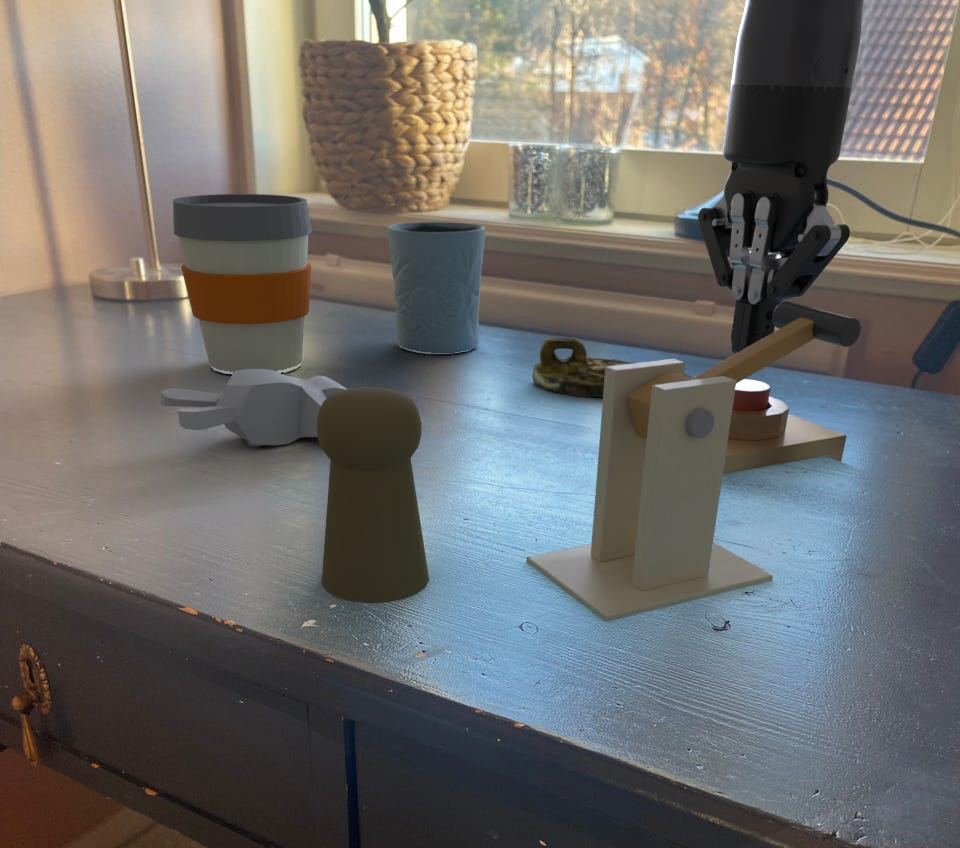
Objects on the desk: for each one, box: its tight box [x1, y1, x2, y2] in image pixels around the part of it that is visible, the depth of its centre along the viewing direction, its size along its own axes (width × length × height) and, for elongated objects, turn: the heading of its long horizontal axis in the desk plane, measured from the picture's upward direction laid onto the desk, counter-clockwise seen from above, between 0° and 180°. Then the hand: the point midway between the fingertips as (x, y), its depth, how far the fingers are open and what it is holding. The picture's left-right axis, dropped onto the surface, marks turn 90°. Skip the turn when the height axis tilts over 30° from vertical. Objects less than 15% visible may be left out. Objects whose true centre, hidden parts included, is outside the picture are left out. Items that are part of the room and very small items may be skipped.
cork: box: [317, 386, 430, 604], centre depth 50 cm, size 6×6×11 cm
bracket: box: [525, 358, 774, 623], centre depth 51 cm, size 11×8×12 cm
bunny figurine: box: [160, 369, 348, 448], centre depth 75 cm, size 10×5×15 cm
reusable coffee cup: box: [172, 193, 313, 372], centre depth 93 cm, size 13×12×15 cm
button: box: [732, 378, 772, 412], centre depth 72 cm, size 4×4×2 cm
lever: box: [627, 300, 862, 440], centre depth 50 cm, size 12×5×2 cm, turn 118°
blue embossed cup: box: [387, 221, 486, 353], centre depth 102 cm, size 10×10×12 cm
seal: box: [532, 336, 693, 398], centre depth 90 cm, size 9×5×15 cm
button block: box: [723, 396, 847, 475], centre depth 73 cm, size 12×10×4 cm
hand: (748, 354), depth 71 cm, fingers closed
